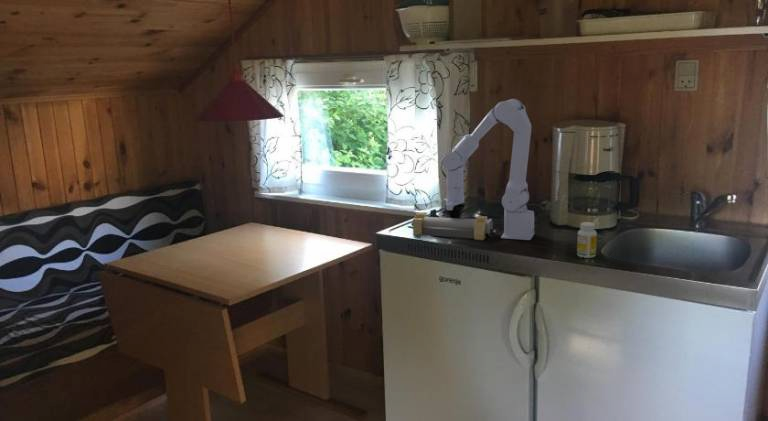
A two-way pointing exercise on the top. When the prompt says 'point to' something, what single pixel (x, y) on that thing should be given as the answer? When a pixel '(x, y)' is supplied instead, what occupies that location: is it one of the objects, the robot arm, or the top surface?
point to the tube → (455, 223)
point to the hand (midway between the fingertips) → (455, 225)
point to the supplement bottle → (587, 240)
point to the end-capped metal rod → (478, 226)
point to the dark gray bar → (448, 232)
